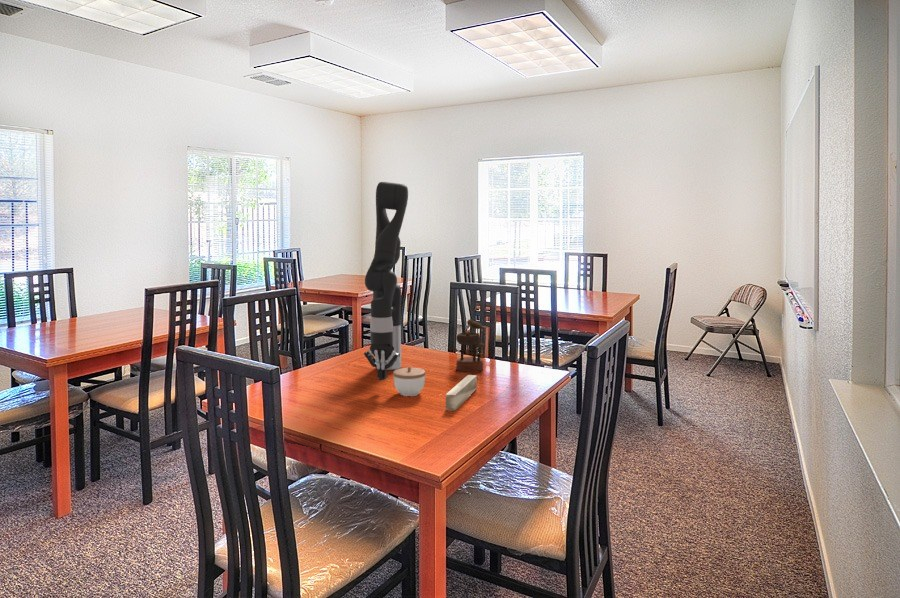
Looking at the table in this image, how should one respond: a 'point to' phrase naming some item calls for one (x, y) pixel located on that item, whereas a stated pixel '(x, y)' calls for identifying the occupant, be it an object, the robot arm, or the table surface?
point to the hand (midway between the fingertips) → (382, 379)
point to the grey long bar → (461, 392)
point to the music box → (469, 339)
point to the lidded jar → (409, 380)
